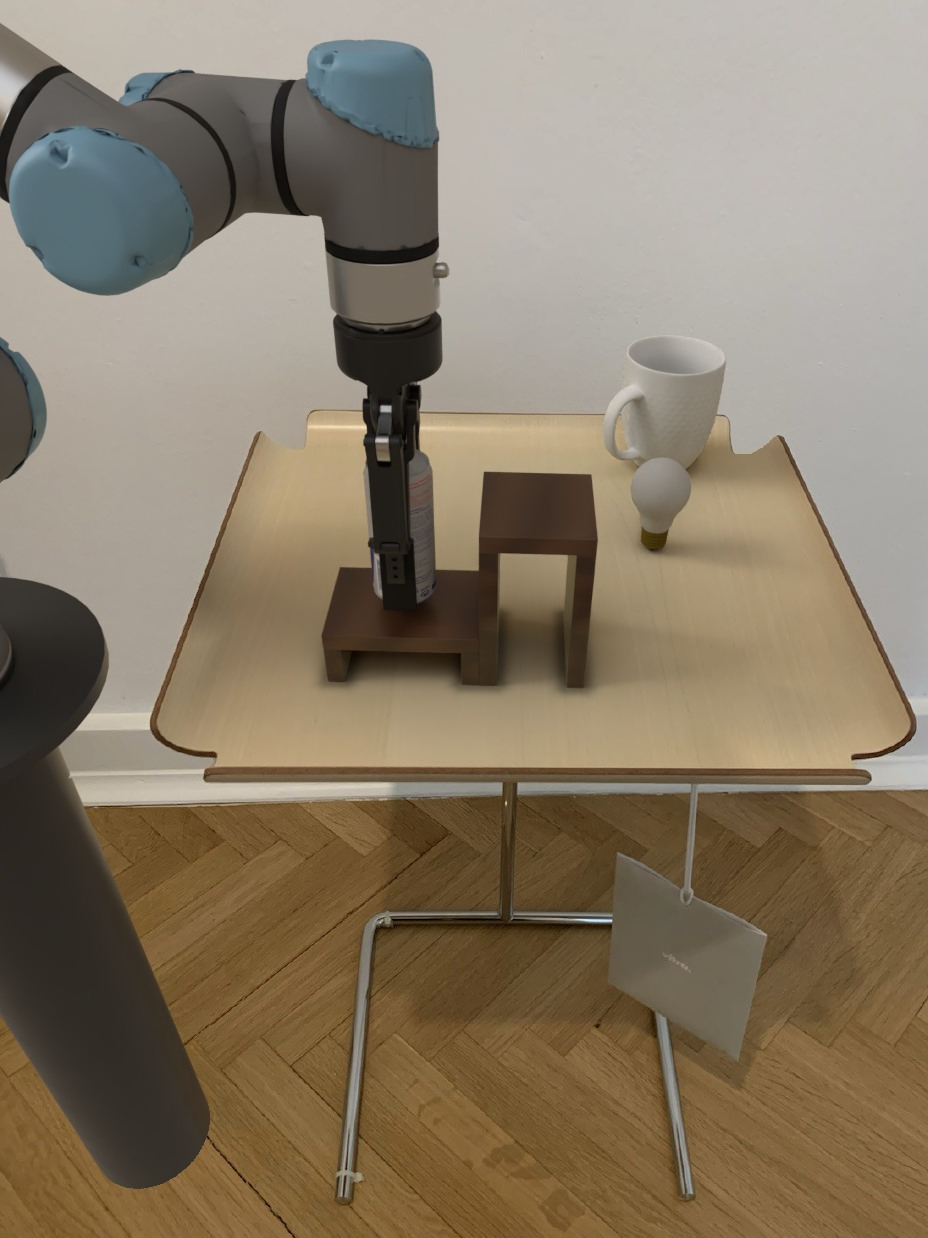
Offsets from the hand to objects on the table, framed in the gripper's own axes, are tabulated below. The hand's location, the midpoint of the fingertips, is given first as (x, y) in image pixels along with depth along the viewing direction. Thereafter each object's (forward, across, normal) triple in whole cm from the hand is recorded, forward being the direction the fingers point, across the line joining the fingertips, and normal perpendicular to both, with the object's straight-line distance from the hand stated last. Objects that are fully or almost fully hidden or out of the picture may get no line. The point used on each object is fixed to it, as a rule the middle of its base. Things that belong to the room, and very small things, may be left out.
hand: (403, 586), depth 80 cm
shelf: (+7, 0, -5) cm, 8 cm away
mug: (+7, +35, -26) cm, 44 cm away
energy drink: (0, 0, 0) cm, 1 cm away
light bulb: (+7, +17, -24) cm, 30 cm away
